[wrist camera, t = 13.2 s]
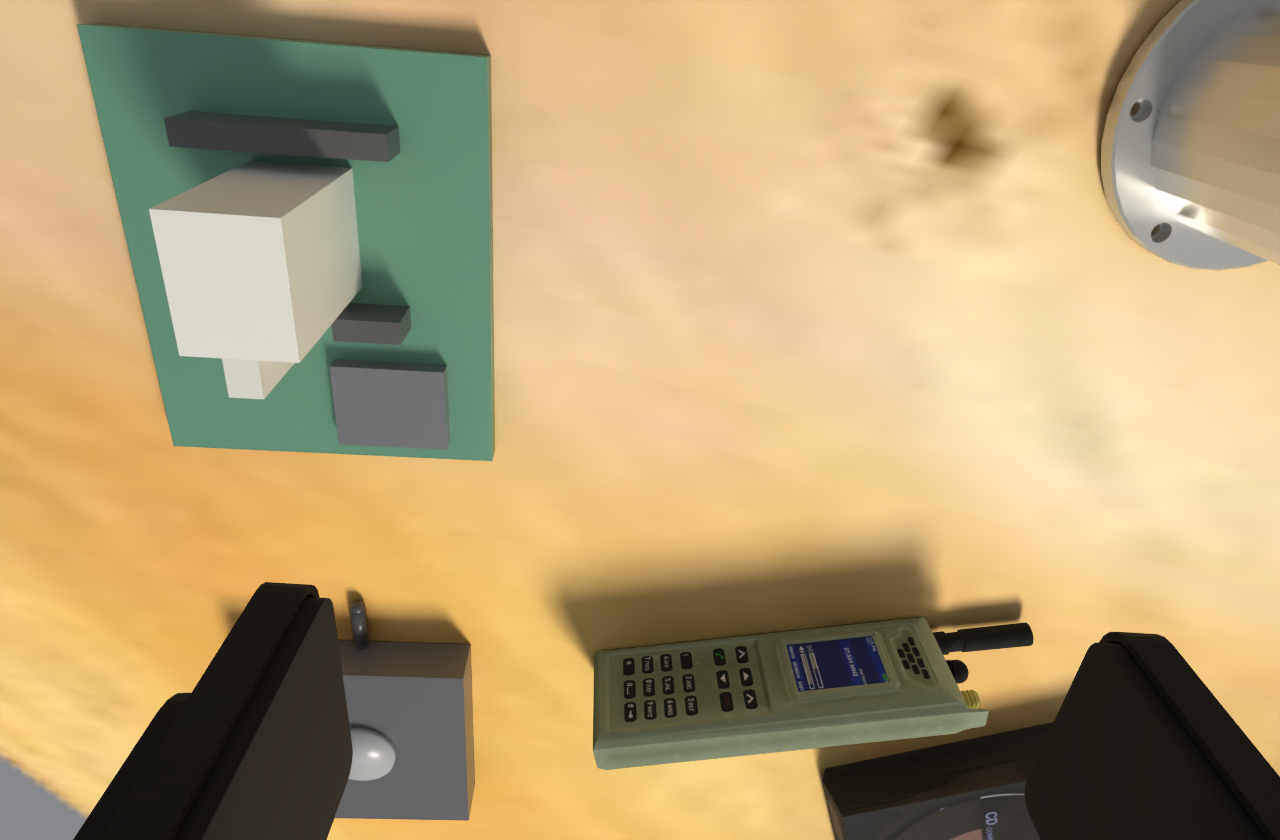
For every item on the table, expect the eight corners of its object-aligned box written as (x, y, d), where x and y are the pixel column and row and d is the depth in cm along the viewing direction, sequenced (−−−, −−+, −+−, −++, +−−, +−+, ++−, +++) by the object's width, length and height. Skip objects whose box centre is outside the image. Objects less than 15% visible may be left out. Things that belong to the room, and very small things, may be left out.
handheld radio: (592, 641, 46) (1024, 595, 46) (600, 680, 48) (1016, 636, 48) (590, 739, 41) (1084, 688, 40) (599, 780, 42) (1073, 731, 42)
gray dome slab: (469, 601, 44) (460, 640, 42) (474, 783, 51) (467, 826, 49) (246, 593, 44) (223, 632, 41) (283, 779, 51) (266, 822, 48)
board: (490, 55, 31) (479, 61, 29) (494, 450, 40) (486, 483, 37) (92, 23, 30) (43, 26, 28) (183, 435, 39) (152, 468, 36)
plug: (352, 168, 32) (280, 218, 25) (365, 319, 35) (304, 401, 28) (250, 160, 32) (148, 208, 25) (272, 313, 35) (187, 395, 28)
